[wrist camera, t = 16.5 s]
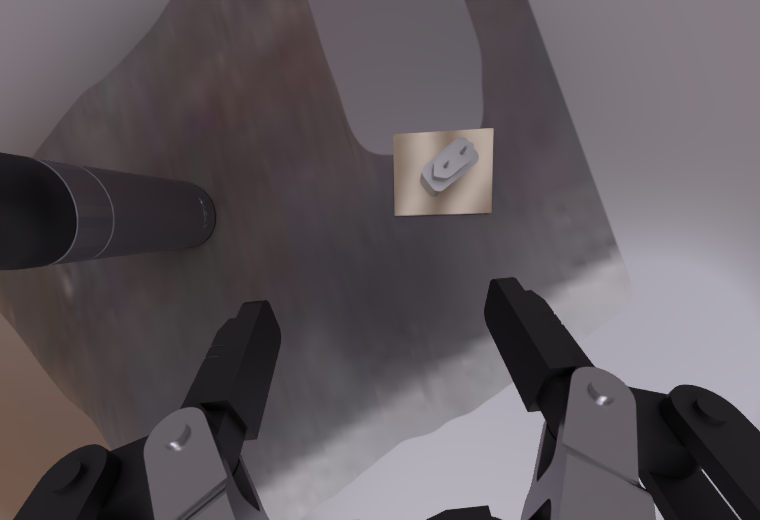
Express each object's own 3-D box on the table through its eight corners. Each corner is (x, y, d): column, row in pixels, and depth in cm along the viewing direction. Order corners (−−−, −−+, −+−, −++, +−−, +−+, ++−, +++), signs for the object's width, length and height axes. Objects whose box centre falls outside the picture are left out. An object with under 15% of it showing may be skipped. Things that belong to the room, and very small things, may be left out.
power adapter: (417, 179, 36) (420, 161, 24) (452, 150, 35) (472, 116, 24) (432, 199, 36) (442, 189, 25) (468, 170, 35) (496, 146, 24)
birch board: (395, 215, 38) (394, 215, 37) (393, 136, 37) (393, 134, 36) (489, 212, 37) (491, 212, 36) (491, 130, 35) (493, 128, 34)
